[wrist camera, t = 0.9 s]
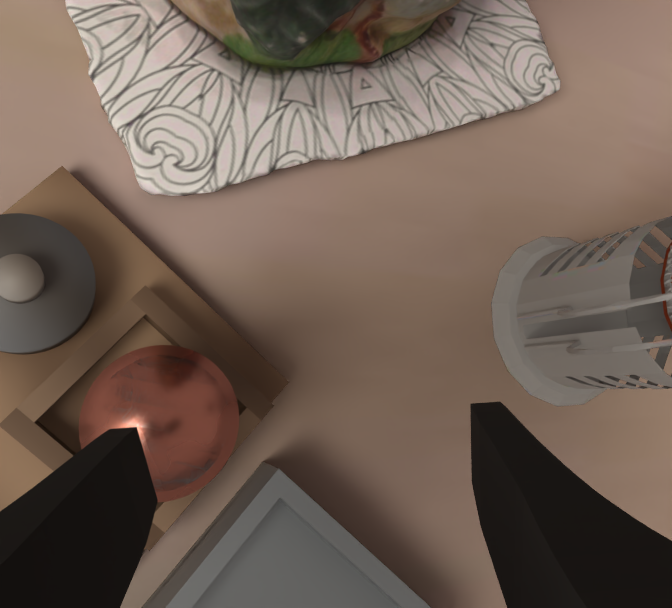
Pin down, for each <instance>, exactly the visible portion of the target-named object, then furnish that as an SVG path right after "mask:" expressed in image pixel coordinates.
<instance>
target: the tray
mask: <svg viewBox="0 0 672 608" xmlns="http://www.w3.org/2000/svg"><path fill="white" fill-rule="evenodd" d="M142 608H431V607H430V606H429V605H428V604H427V603H425V602H424V601H423V600H422V599H421V598H420V597H419V596H418V595H417V594H416V593H415V592H413V591H412V590H411V589H410V588H409V587H408V586H407V585H406V584H405V583H404V582H402V581H401V580H400V579H399V578H398V577H397V576H396V575H395V574H394V573H393V572H392V571H390V570H389V569H388V568H387V567H386V566H385V565H384V564H383V563H382V562H381V561H379V560H378V559H377V558H376V557H375V556H374V555H373V554H372V553H371V552H370V551H369V550H367V549H366V548H365V547H364V546H363V545H362V544H361V543H360V542H359V541H358V540H356V539H355V538H354V537H353V536H352V535H351V534H350V533H349V532H348V531H347V530H345V529H344V528H343V527H342V526H341V525H340V524H339V523H338V522H337V521H336V520H335V519H333V518H332V517H331V516H330V515H329V514H328V513H327V512H326V511H325V510H324V509H322V508H321V507H320V506H319V505H318V504H317V503H316V502H315V501H314V500H313V499H312V498H310V497H309V496H308V495H307V494H306V493H305V492H304V491H303V490H302V489H301V488H299V487H298V486H297V485H296V484H295V483H294V482H293V481H292V480H291V479H290V478H289V477H287V476H286V475H285V474H284V473H283V472H282V471H281V470H280V469H279V468H276V467H274V466H272V465H269V464H267V463H265V462H262V463H261V465H260V466H259V467H258V468H257V469H256V471H255V472H254V473H253V474H252V475H251V477H250V478H249V479H248V480H247V481H246V483H245V484H244V485H243V486H242V487H241V489H240V490H239V491H238V492H237V493H236V495H235V496H234V497H233V498H232V499H231V501H230V502H229V503H228V504H227V505H226V507H225V508H224V509H223V510H222V511H221V513H220V514H219V515H218V516H217V518H216V519H215V520H214V521H213V522H212V524H211V525H210V526H209V527H208V528H207V530H206V531H205V532H204V533H203V534H202V536H201V537H200V538H199V539H198V540H197V542H196V543H195V544H194V545H193V546H192V548H191V549H190V550H189V551H188V552H187V554H186V555H185V556H184V557H183V558H182V560H181V561H180V562H179V563H178V565H177V566H176V567H175V568H174V569H173V571H172V572H171V573H170V574H169V575H168V577H167V578H166V579H165V580H164V581H163V583H162V584H161V585H160V586H159V587H158V589H157V590H156V591H155V592H154V593H153V595H152V596H151V597H150V598H149V599H148V601H147V602H146V603H145V604H144V605H143V607H142Z"/></svg>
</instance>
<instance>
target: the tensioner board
mask: <svg viewBox="0 0 672 608" xmlns="http://www.w3.org/2000/svg"><path fill="white" fill-rule="evenodd" d="M155 345H173V346H179V347H184V348H187V349H190V350H193V351H195V352H197V353H200V354H201V355H203V356H205V357H206V358H208V359H209V360H211V361H212V362H213V363H214V364H215V365H217V367H218V368H219V369H220V370H221V371H222V372H223V373H224V375H225V376H226V377H227V379H228V380H229V382H230V384H231V386H232V388H233V390H234V393H235V396H236V399H237V403H238V409H239V429H238V435H237V439H236V443H235V446H234V448H233V451H232V453H231V455H232V454H233V453H234V452H235V450H236V449H237V448H238V447H239V446H240V445H241V443H242V442H243V441H244V440H245V439H246V438H247V436H248V435H249V434H250V433H251V432H252V431H253V429H254V428H255V427H256V426H257V425H258V424H259V422H260V421H261V420H262V419H263V418H264V417H265V415H266V414H267V413H268V412H269V411H270V410H271V408H272V407H273V406H274V405H273V404H272V403H271V402H272V401H273V400H274V399H275V398H276V397H277V395H278V394H279V393H280V392H281V391H282V390H283V388H284V387H285V386H286V385H287V384H288V383H289V382H288V381H287V380H286V379H285V378H284V377H283V376H282V375H281V374H280V373H279V372H278V371H277V370H276V369H275V368H274V367H273V366H272V365H270V364H269V363H268V362H267V361H266V360H265V359H264V358H263V357H262V356H261V355H260V354H259V353H258V352H257V351H256V350H255V349H254V348H253V347H252V346H251V345H249V344H248V343H247V342H246V341H245V340H244V339H243V338H242V337H241V336H240V335H239V334H238V333H237V332H236V331H235V330H234V329H233V328H232V327H231V326H230V325H229V324H227V323H226V322H225V321H224V320H223V319H222V318H221V317H220V316H219V315H218V314H217V313H216V312H215V311H214V310H213V309H212V308H211V307H210V306H209V305H208V304H207V303H205V302H204V301H203V300H202V299H201V298H200V297H199V296H198V295H197V294H196V293H195V292H194V291H193V290H192V289H191V288H190V287H189V286H188V285H187V284H186V283H184V282H183V281H182V280H181V279H180V278H179V277H178V276H177V275H176V274H175V273H174V272H173V271H172V270H171V269H170V268H169V267H168V266H167V265H166V264H165V263H164V262H162V261H161V260H160V259H159V258H158V257H157V256H156V255H155V254H154V253H153V252H152V251H151V250H150V249H149V248H148V247H147V246H146V245H145V244H144V243H143V242H142V241H140V240H139V239H138V238H137V237H136V236H135V235H134V234H133V233H132V232H131V231H130V230H129V229H128V228H127V227H126V226H125V225H124V224H123V223H122V222H121V221H119V220H118V219H117V218H116V217H115V216H114V215H113V214H112V213H111V212H110V211H109V210H108V209H107V208H106V207H105V206H104V205H103V204H102V203H101V202H100V201H99V200H97V199H96V198H95V197H94V196H93V195H92V194H91V193H90V192H89V191H88V190H87V189H86V188H85V187H84V186H83V185H82V184H81V183H80V182H79V181H78V180H77V179H75V178H74V177H73V176H72V175H71V174H70V173H69V172H68V171H67V170H66V169H65V168H64V167H63V166H61V167H60V168H59V169H58V170H56V171H55V172H54V173H53V174H51V175H50V176H49V177H48V178H46V179H45V180H44V181H43V182H41V183H40V184H39V185H38V186H37V187H35V188H34V189H33V190H32V191H30V192H29V193H28V194H27V195H25V196H24V197H23V198H22V199H20V200H19V201H18V202H17V203H15V204H14V205H13V206H12V207H10V208H9V209H8V210H7V211H5V212H4V213H3V214H2V215H0V511H1V510H3V509H4V508H6V507H7V506H8V505H10V504H11V503H12V502H14V501H15V500H17V499H18V498H19V497H21V496H22V495H23V494H25V493H26V492H28V491H29V490H30V489H32V488H33V487H34V486H36V485H37V484H38V483H39V482H41V481H42V480H43V479H45V478H46V477H47V476H48V475H50V474H51V473H52V472H54V471H55V470H56V469H57V468H59V467H60V466H61V465H62V464H64V463H65V462H66V461H68V460H69V459H70V458H71V457H73V456H74V455H75V454H76V453H78V452H79V451H80V450H82V449H81V444H80V440H79V417H80V412H81V408H82V405H83V402H84V399H85V396H86V394H87V392H88V390H89V388H90V387H91V385H92V384H93V382H94V381H95V379H96V378H97V377H98V376H99V375H100V373H101V372H102V371H103V370H104V369H105V368H106V367H108V366H109V365H110V364H111V363H112V362H114V361H115V360H117V359H118V358H120V357H121V356H123V355H125V354H127V353H129V352H131V351H134V350H137V349H140V348H144V347H148V346H155ZM231 455H230V456H231ZM204 487H205V486H204ZM204 487H202V488H200V489H199V490H197V491H196V492H194V493H192V494H190V495H187V496H185V497H182V498H179V499H176V500H172V501H167V502H157V506H156V510H155V514H154V518H153V522H152V526H151V529H150V533H149V536H148V540H147V543H146V546H145V548H144V550H145V549H146V548H147V549H148V550H149V551H150V550H151V548H152V547H153V546H154V545H155V544H156V543H157V541H158V540H159V539H160V538H161V537H162V536H163V534H164V533H165V532H166V531H167V530H168V529H169V527H170V526H171V525H172V524H173V523H174V522H175V520H176V519H177V518H178V517H179V516H180V515H181V513H182V512H183V511H184V510H185V509H186V508H187V506H188V505H189V504H190V503H191V502H192V501H193V499H194V498H195V497H196V496H197V495H198V494H199V492H200V491H201V490H202V489H203V488H204Z"/></svg>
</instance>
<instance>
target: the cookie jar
mask: <svg viewBox="0 0 672 608" xmlns="http://www.w3.org/2000/svg"><path fill="white" fill-rule="evenodd" d="M65 3H66V9H67V12H68V13H69V15H70V17H71V19H72V20H73V22H74V24H75V25H76V27H77V29H78V31H79V34H80V36H81V39H82V41H83V44H84V47H85V49H86V52H87V55H88V57H89V60H90V61H89V76H90V78H91V80H92V81H93V83H94V85H95V86H96V89H97V91H98V93H99V96H100V100H101V107H102V109H103V110H104V112H105V113H106V114H107V116H108V122H109V123H110V124H111V126H112V127H113V128H114V130H115V131H116V132H117V134H118V135H119V137H120V139H121V140H122V142H123V144H124V145H125V147H126V150H127V152H128V154H129V156H130V159H131V162H132V165H133V168H134V172H135V176H136V179H137V181H138V183H139V185H140V188H141V189H143V190H144V191H146V192H147V193H149V194H151V195H158V194H163V195H168V196H185V195H191V194H199V193H208V192H216V191H218V190H220V189H222V188H224V187H226V186H228V185H231V184H237V183H241V182H244V181H247V180H249V179H252V178H255V177H258V176H265V175H268V174H269V173H271V172H272V171H273V170H277V169H280V168H288V167H292V166H296V165H299V164H304V163H308V162H310V161H312V160H316V159H321V160H330V161H331V160H343V159H345V158H347V157H350V156H355V155H359V154H363V153H366V152H368V151H369V150H371V149H373V148H380V147H384V146H388V145H390V144H394V143H398V142H403V141H408V140H413V139H416V138H419V137H422V136H426V135H430V134H432V133H435V132H439V131H443V130H447V129H451V128H453V127H456V126H459V125H463V124H466V123H468V122H471V121H476V120H481V119H485V118H490V117H493V116H495V115H497V114H500V113H505V112H510V111H515V110H520V109H524V108H525V107H527V106H530V105H532V104H535V103H537V102H539V101H541V100H543V99H544V98H545V97H546V96H549V95H551V94H553V93H555V92H556V91H558V90H559V89H560V79H559V78H558V76H557V74H556V71H555V67H554V64H553V62H552V61H551V59H550V58H549V57H548V51H547V47H546V45H545V43H544V41H543V38H542V35H541V31H540V28H539V24H538V22H537V20H536V17H535V16H534V15H533V14H532V13H531V10H530V8H529V6H528V3H527V2H526V1H525V0H65Z"/></svg>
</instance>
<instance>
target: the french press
mask: <svg viewBox="0 0 672 608" xmlns="http://www.w3.org/2000/svg"><path fill="white" fill-rule="evenodd" d="M654 226H656V227H658V228H659V229H660V230H662V231H663V232H664V233H665V234H666V235H667V236H668V237H669V238H670V239H671V240H672V216H670V217H667V218H663V219H659V220H656V221H652V222H649V223H647V224H645V225H644V226H642V227H640V226H636V227H633V228H630V229H627V230H625V231H623V232H621V233H618V232H615V233H612V234H609V235H606V236H604V237H602V238H600V239H599V238H595V239H592V240H589V241H587V242H584V243H582V244H580V243H576V242H574V241H573V240H571V239H569V238H559V237H540V238H538V239H536V240H534V241H531V242H529V243H527V244H525V245H523V246H521V247H519V248H517V250H516V251H515V252H514V254H513V255H512V256H511V257H510V259H509V260H508V261H507V263H506V264H505V265H504V266H503V268H502V269H501V270H500V273H499V276H498V280H497V284H496V287H495V291H494V295H493V299H492V302H491V306H492V319H493V332H494V339H495V342H496V344H497V347H498V349H499V351H500V354H501V356H502V358H503V361H504V363H505V365H506V368H507V370H508V372H509V373H510V374H511V375H512V376H513V377H514V378H515V379H516V380H517V381H518V382H519V383H520V384H521V385H522V387H523V388H524V389H525V390H526V391H527V392H528V393H529V394H530V395H532V396H534V397H536V398H539V399H541V400H543V401H546V402H548V403H550V404H553V405H555V406H569V405H581V404H585V403H586V402H588V401H590V400H591V399H593V398H594V397H596V396H597V395H599V394H600V393H602V392H603V391H605V390H606V389H607V388H609V389H623V388H629V389H644V388H652V389H668V388H672V375H671V376H669V375H668V374H666V373H665V372H664V371H663V369H664V366H665V363H666V360H667V357H668V354H669V351H670V348H671V346H672V242H671V244H670V245H669V247H668V248H666V247H665V246H663V245H662V244H661V243H660V242H659V241H658V240H657V239H656V238H655V237H654V236H653V235H652V234H651V233H650V231H651V229H652V228H653V227H654ZM629 231H632V232H633V233H632V234H631V235H630V236H629V237H626V236H624V235H625V234H626V233H627V232H629ZM608 237H612V239H610V240H609V241H608V242H605V241H603V240H604V239H606V238H608ZM642 240H643V241H644V242H645V243H646V244H647V245H648V246H650V247H651V248H652V249H653V250H654V251H655V252H656V253H657V254H659V255H660V256H661V257H662V258H663V259H664V263H662V264H657V263H656V262H655V261H654V260H652V259H651V258H650V257H649V256H648V255H647V254H646V253H644V252H643V251H642V250H641V249H640V248H639V245H640V243H641V242H642ZM590 242H591V243H592V244H590V245H589V246H588V247H587V246H585V245H586V244H588V243H590ZM615 242H619V243H620V245H619V246H618V247H617V248H616V249H615V248H614V247H613V246H612V245H613V244H614V243H615ZM596 246H598V247H600V249H599V250H598V251H597V252H595V251H594V250H593V249H594V248H595V247H596ZM605 252H606V253H607V254H609V255H610V256H609V257H608V258H607V259H606V260H605V259H603V258H602V257H601V256H602V255H603V254H604V253H605ZM634 256H635V257H636V258H637V259H638V260H640V261H641V262H642V263H643V264H644V265H645V266H646V267H643V268H639V269H638V268H636V267H635V266H634V265H633V261H634ZM660 335H664V337H663V339H662V340H661V341H655V342H653V340H654V337H655V336H660ZM641 337H644V339H643V341H642V340H641ZM657 347H660V348H659V350H658V353H657V356H656V359H655V360H654V359H653V358H652V357H651V355H650V354H649V351H650V349H651V348H657ZM625 375H630V377H628V376H625ZM640 377H641V378H644V379H646V380H648V381H647V384H646V383H643V382H640V381H638V380H639V378H640ZM620 379H621V380H624V381H626V382H627V383H626V384H621V383H619V380H620ZM658 384H660V385H664V387H658V386H657V385H658ZM616 385H617V386H621V387H616ZM636 385H640V386H642V387H636Z"/></svg>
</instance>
